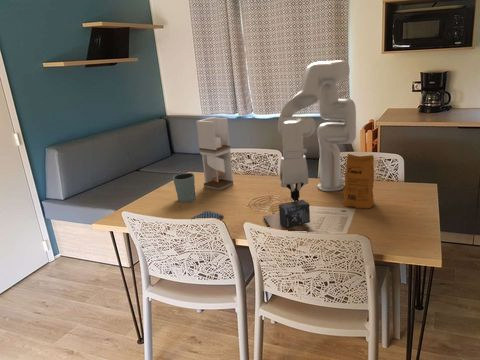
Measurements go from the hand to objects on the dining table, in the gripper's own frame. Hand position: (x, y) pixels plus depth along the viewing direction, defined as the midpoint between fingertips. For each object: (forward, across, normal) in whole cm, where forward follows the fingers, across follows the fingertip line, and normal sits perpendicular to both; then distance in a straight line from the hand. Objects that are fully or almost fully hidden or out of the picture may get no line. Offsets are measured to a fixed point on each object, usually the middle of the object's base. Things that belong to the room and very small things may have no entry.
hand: (295, 199), depth 156 cm
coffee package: (+10, -31, -9) cm, 34 cm away
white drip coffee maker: (+10, +22, -61) cm, 66 cm away
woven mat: (+11, +33, -18) cm, 39 cm away
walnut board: (+10, +5, 0) cm, 11 cm away
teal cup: (+10, +40, -47) cm, 63 cm away
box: (+5, -4, +1) cm, 6 cm away
